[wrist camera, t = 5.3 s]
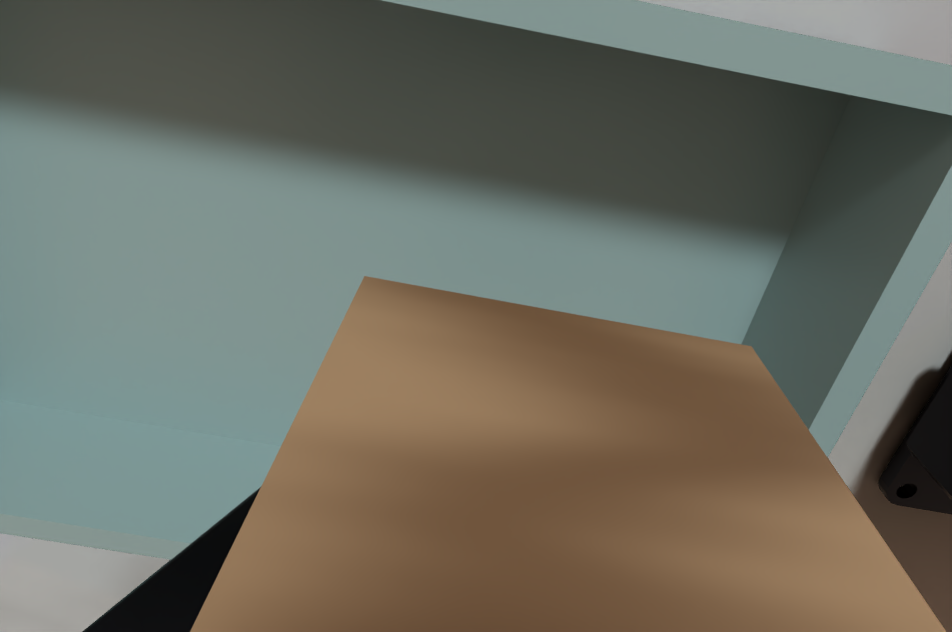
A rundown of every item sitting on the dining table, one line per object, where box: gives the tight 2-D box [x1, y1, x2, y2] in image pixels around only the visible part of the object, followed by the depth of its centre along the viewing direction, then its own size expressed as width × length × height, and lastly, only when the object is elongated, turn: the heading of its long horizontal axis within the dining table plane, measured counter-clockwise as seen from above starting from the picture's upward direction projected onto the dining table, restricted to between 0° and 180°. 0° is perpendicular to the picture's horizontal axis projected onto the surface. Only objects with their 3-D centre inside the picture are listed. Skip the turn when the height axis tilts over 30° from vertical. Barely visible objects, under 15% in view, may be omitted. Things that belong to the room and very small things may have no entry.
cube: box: [190, 276, 946, 632], centre depth 7 cm, size 5×5×5 cm
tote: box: [0, 0, 952, 560], centre depth 13 cm, size 19×12×4 cm, turn 80°
